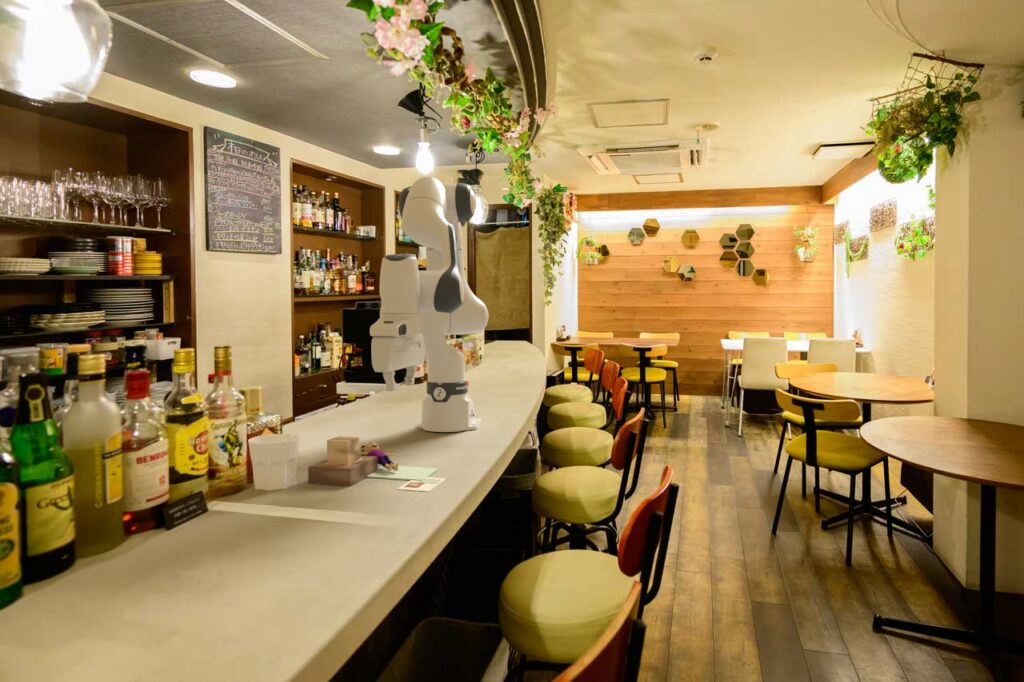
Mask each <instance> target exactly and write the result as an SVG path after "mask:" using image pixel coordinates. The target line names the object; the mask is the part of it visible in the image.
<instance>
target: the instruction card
mask: <svg viewBox="0 0 1024 682" xmlns="http://www.w3.org/2000/svg"><path fill="white" fill-rule="evenodd" d="M446 480H447V478H446V477H445V478H444V477H442V478H441V477H432V476H429V477H427V478H425V479H423V480H420V481H419V480H408V482H406V483H404V484H402V485H401V486H399V487H398V488H397V490H398V491H399V490H400V491H401V490H402V491H413V492H414V491H416V492H428V493H429V492H431V491H432V490H433V489H435V488H436V487H438V486H439V485H440V484H441V483H443V482H444V481H446Z"/></svg>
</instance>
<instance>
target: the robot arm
mask: <svg viewBox="0 0 1024 682" xmlns="http://www.w3.org/2000/svg"><path fill="white" fill-rule="evenodd" d="M397 202H398V203H397V207H398V211H399V215H400V217H401V225H402V229H403V231H404V233H405V235H407V237H408V238H409V240H411V241H412V242H414V243H415V244H418V245H420V246H423V247H425V256H426V257H425V258H426V259H425V260H426V263H425V264H426V269H424V270H422V269H421V270H419V263H418V258H417V256H416V255H414V254H411V253H391V254H386V255H385V256H384V257H382V260H381V265H380V273H379V297H380V300H381V306H380V310H379V318H378V319H377V321H375V322H374V323H373V324H371V326H370V328H369V335H370V336H371V337H372V339H371V344H370V345H371V347H370V349H371V350H370V351H371V352H370V353H371V366H372V368H373V370H374V372H375V373H382V377H383V381H385V390H386V391H387V392H394V391H396V390H397V389H398V387H397V386H398V385H397V382H396V380H395V375H396V371H399V370H402V369H405V370H406V374H405V376H404V384H405V386H413V385H414V384H415V377H416V372H417V368H418V367H417V366H418V365H421V364H424V362H425V359H426V365H427V381H426V385H425V388H426V394H427V395H426V397H425V398H423V400H422V402H421V403H422V404H421V405H422V406H421V419H420V420H421V422H418V423H417V428H419V429H423V430H424V431H428V432H433V433H434V432H435V433H436V432H437V433H454V432H463V431H473V430H474V431H476V430H478V429H479V427H480V424H481V423H482V420H483V419H482V418H481V417H476V410H475V403H474V401H473V400H472V399H471V397H470V396H469V394H468V392H469V390H468V388H469V386H470V382H469V380H466V357H465V355H464V353H463V352H462V351H461V350H460V349H458V348H456V347H454V346H452V345H450V344H448V342H447V341H446V336H447V335H448V336H449V335H472V334H476V333H479V332H483V330H484V329H485V328H486V326H487V325H488V321H489V317H490V316H489V310H488V307H487V305H486V304H485V303H484V302H483V301H482V300H481V299H480V298H478V296H476V295H475V293H473V291H472V290H471V288H470V285H469V284H468V281H467V279H466V274H465V263H464V262H465V261H464V260H465V259H464V239H463V232H462V228H463V227H464V226H466V223H467V222H469V221H470V220H471V219H472V218H473V216H475V210H476V209H477V208H476V207H477V199H476V194H475V192H474V189H473V187H472V186H471V185H470V184H467V183H463V182H458V183H448V182H441V181H440V180H439V179H437V178H436V177H431V176H423V177H419V178H418V179H417V180H415V181H414V182H413V184H412V185H410V186H407V187H405V188H403V189H402V190H401V192H400V193H399V195H398V201H397ZM425 357H426V358H425Z"/></svg>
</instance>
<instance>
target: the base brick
mask: <svg viewBox="0 0 1024 682" xmlns="http://www.w3.org/2000/svg"><path fill="white" fill-rule="evenodd" d="M359 458H360V459H359V460H357V461H354V462H352V463H350V464H333V463H327V458H325V459H323V460H321V461H319V462H317V463H313V464H311V465H309V466H308V467H307V470H308V471H307V474H308V481H307V482H308V484H317V485H332V486H345V487H347V486H348V487H352V486H353V485H356V484H358V483H359V482H361V481H363V480H365V479H366V478H368V477H367V476H368V475H370V474H372V473H374V472H375V471H377V468H378V463H377V457H376V456H361V455H359Z"/></svg>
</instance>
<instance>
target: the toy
mask: <svg viewBox="0 0 1024 682" xmlns="http://www.w3.org/2000/svg"><path fill="white" fill-rule="evenodd" d="M361 449H362V450H361V452H360V451H359V456H376V457H377V465H381V466H383V467H385V468H386V469H387V470H389V471H391V469H393V470H394V471H397V470H398V466H399V463H394V462H393V461H392V460H391V459H390V456H392V457H393V456H396V455H397V454H396V453H394V452H393V453H392V452H391V453H390V452H388V453H387V452H383V451H382V450H380V446H379V445H378V444H377V443H376V442H373V441H371V442H370V441H369V442H368V443H366V444H365V445H361Z"/></svg>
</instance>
